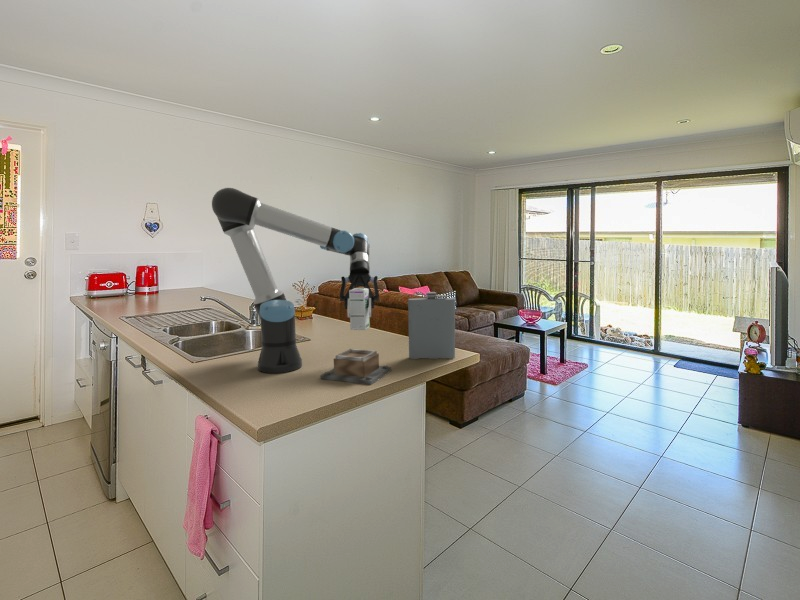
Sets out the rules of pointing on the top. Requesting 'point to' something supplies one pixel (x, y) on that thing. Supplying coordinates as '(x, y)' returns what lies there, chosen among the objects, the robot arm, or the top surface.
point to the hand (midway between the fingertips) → (359, 315)
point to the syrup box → (359, 308)
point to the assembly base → (357, 379)
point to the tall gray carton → (431, 327)
